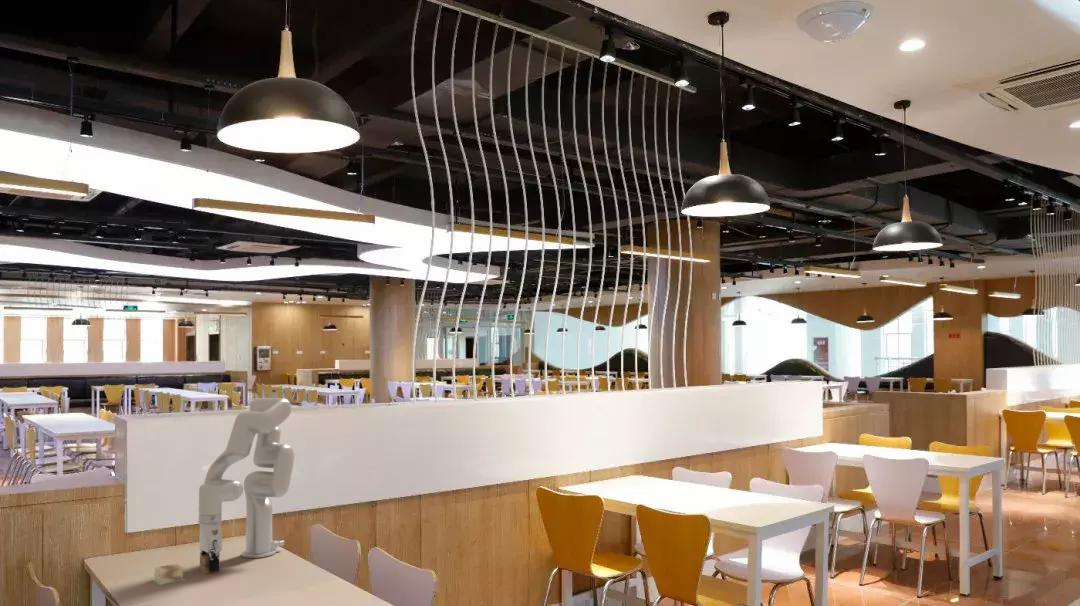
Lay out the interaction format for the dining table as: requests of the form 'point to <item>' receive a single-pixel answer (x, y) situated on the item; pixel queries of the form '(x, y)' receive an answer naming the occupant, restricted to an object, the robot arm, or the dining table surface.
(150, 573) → the dining table surface
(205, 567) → the walnut block
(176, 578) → the maple block
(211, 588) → the dining table surface
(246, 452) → the robot arm
